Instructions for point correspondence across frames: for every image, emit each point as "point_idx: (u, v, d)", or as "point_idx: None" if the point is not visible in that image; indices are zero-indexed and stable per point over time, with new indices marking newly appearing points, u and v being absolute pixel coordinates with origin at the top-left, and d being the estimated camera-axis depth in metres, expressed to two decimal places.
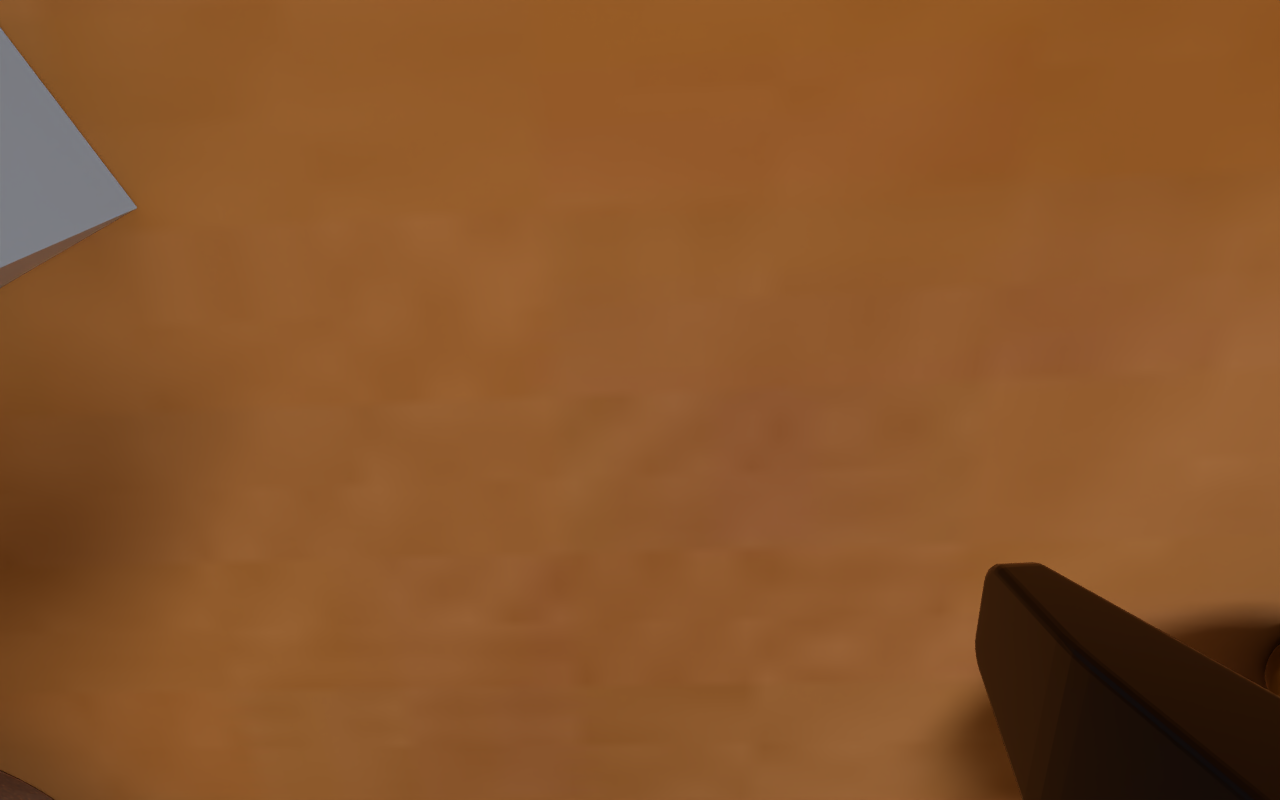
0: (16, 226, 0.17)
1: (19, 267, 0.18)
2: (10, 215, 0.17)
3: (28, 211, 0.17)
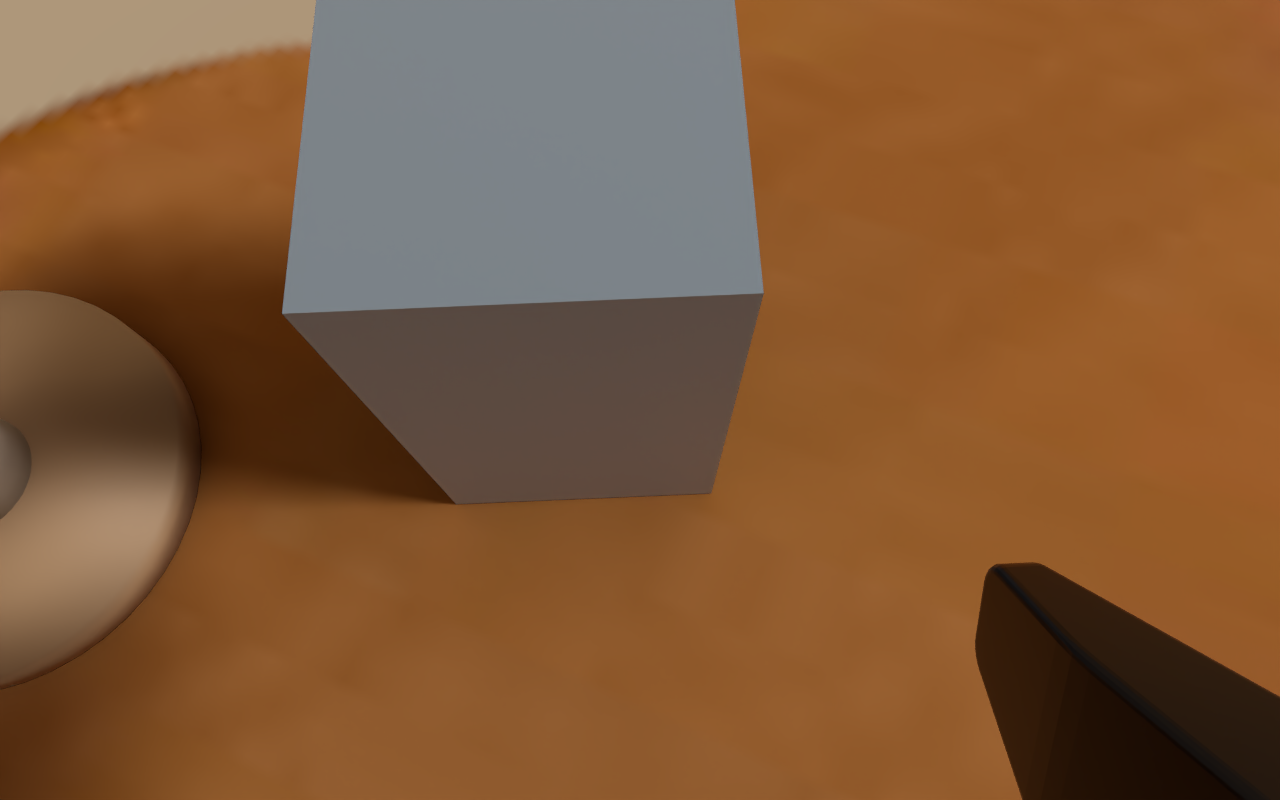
0: None
1: (652, 467, 0.19)
2: None
3: None
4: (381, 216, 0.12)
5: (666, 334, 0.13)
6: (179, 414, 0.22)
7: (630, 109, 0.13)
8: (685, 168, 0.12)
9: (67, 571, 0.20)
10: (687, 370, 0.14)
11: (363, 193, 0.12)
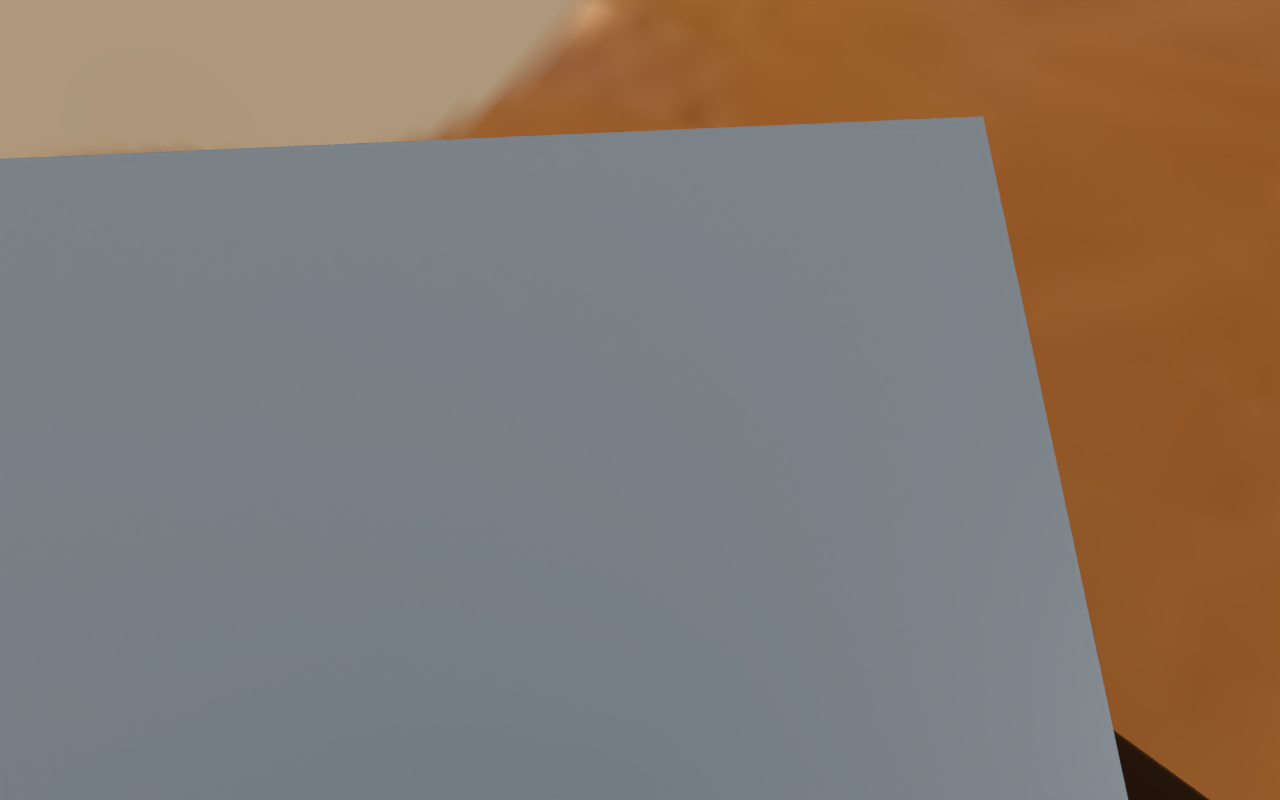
0: None
1: None
2: None
3: None
4: None
5: None
6: None
7: None
8: None
9: None
10: None
11: None
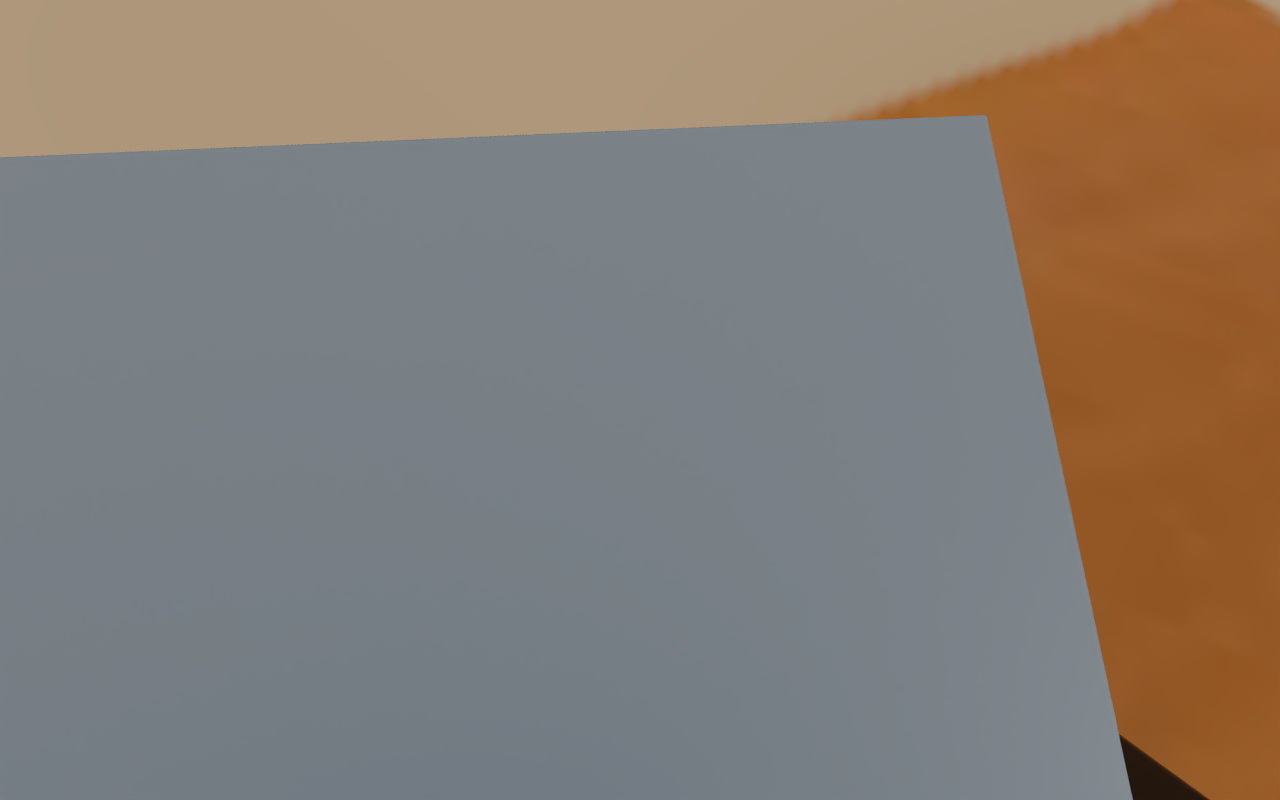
0: None
1: None
2: None
3: None
4: None
5: None
6: None
7: None
8: None
9: None
10: None
11: None
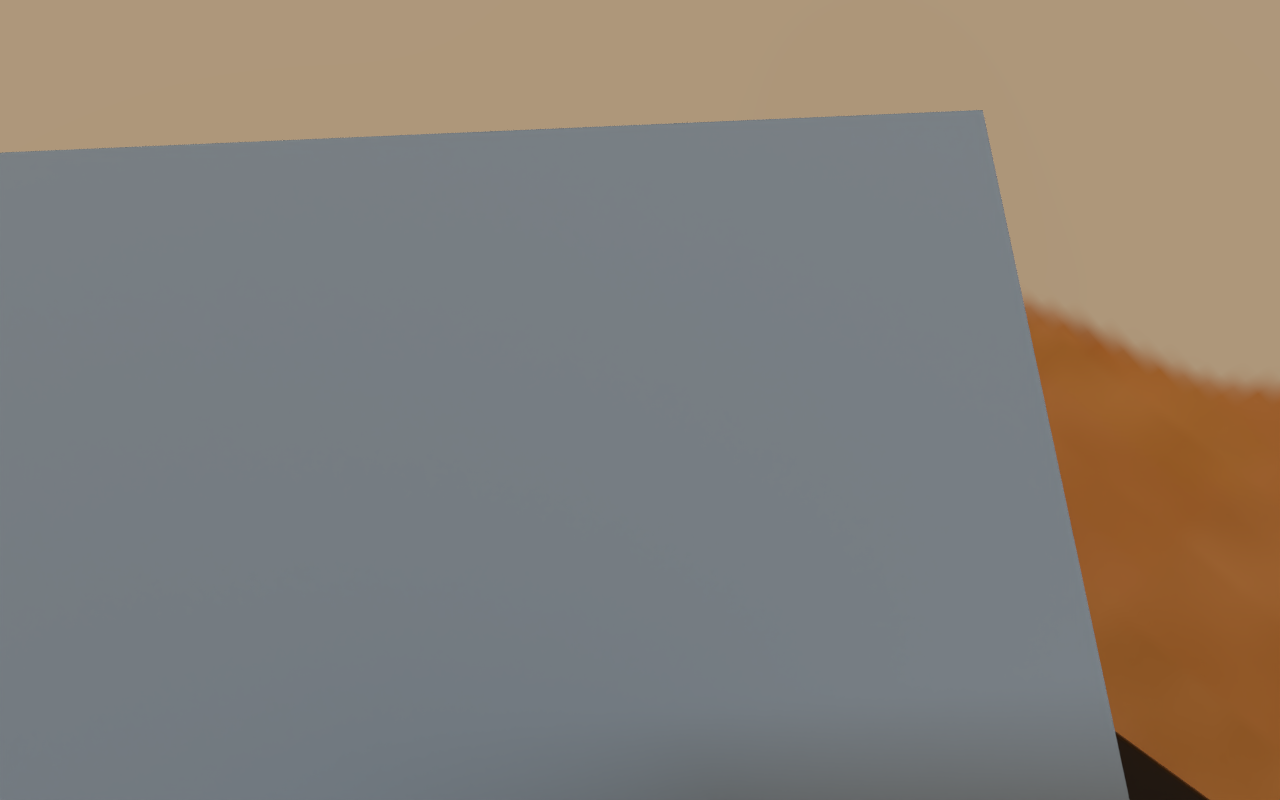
0: None
1: None
2: None
3: None
4: None
5: None
6: None
7: None
8: None
9: None
10: None
11: None
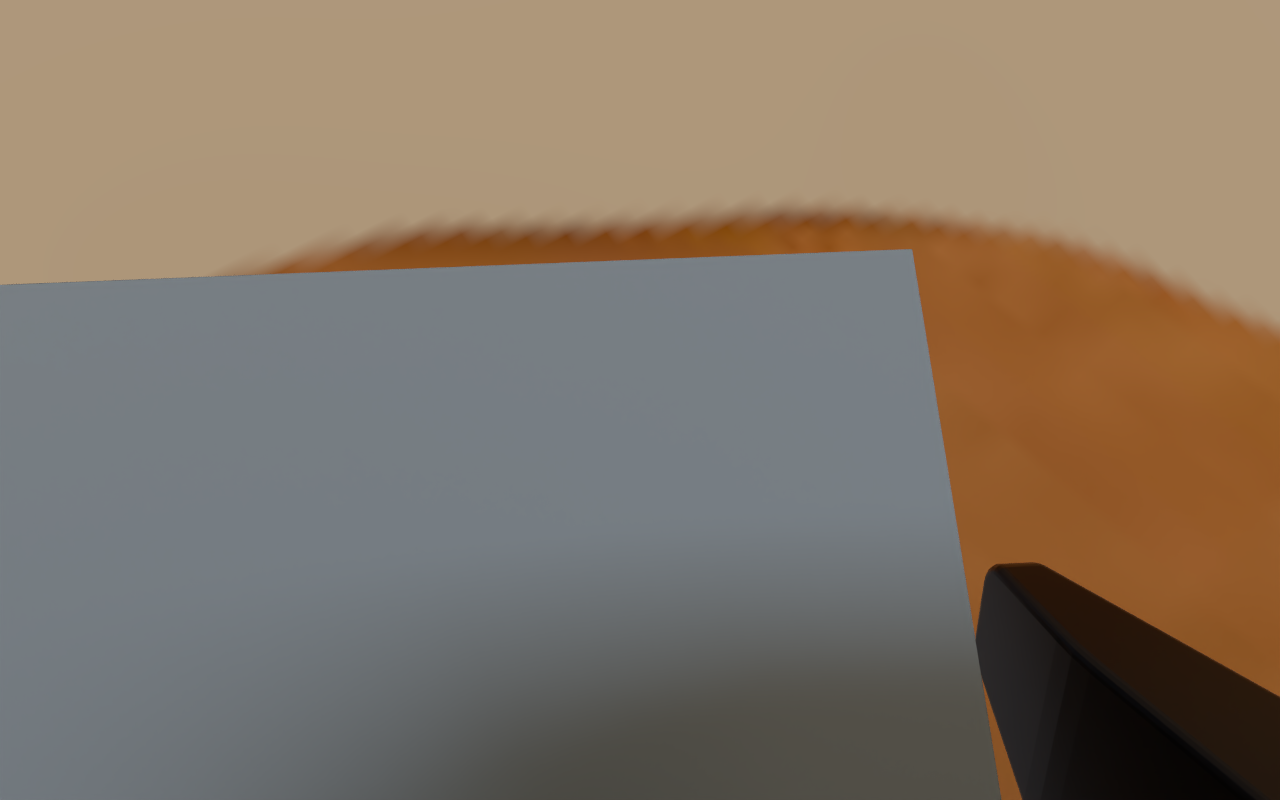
0: None
1: None
2: None
3: None
4: None
5: None
6: None
7: None
8: None
9: None
10: None
11: None
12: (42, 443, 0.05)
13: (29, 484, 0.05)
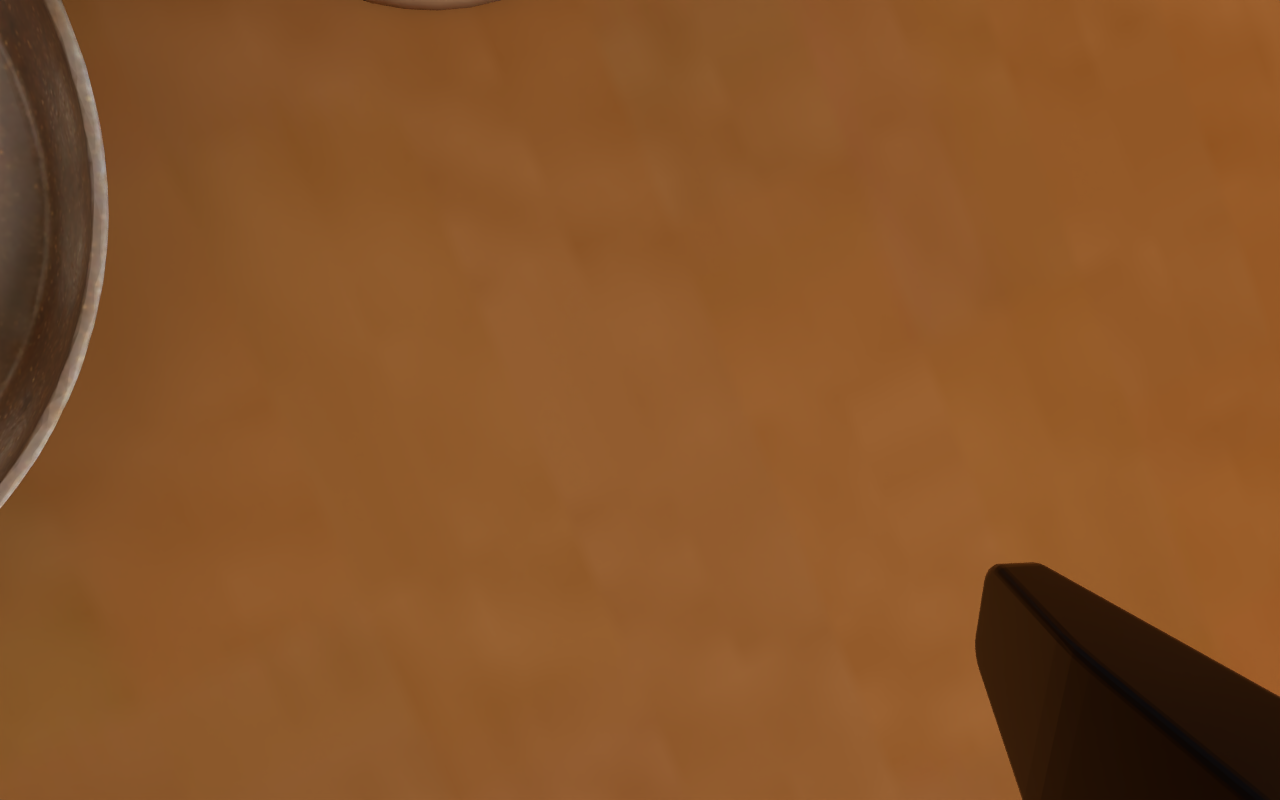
0: None
1: None
2: None
3: None
4: None
5: None
6: None
7: None
8: None
9: None
10: None
11: None
12: None
13: None
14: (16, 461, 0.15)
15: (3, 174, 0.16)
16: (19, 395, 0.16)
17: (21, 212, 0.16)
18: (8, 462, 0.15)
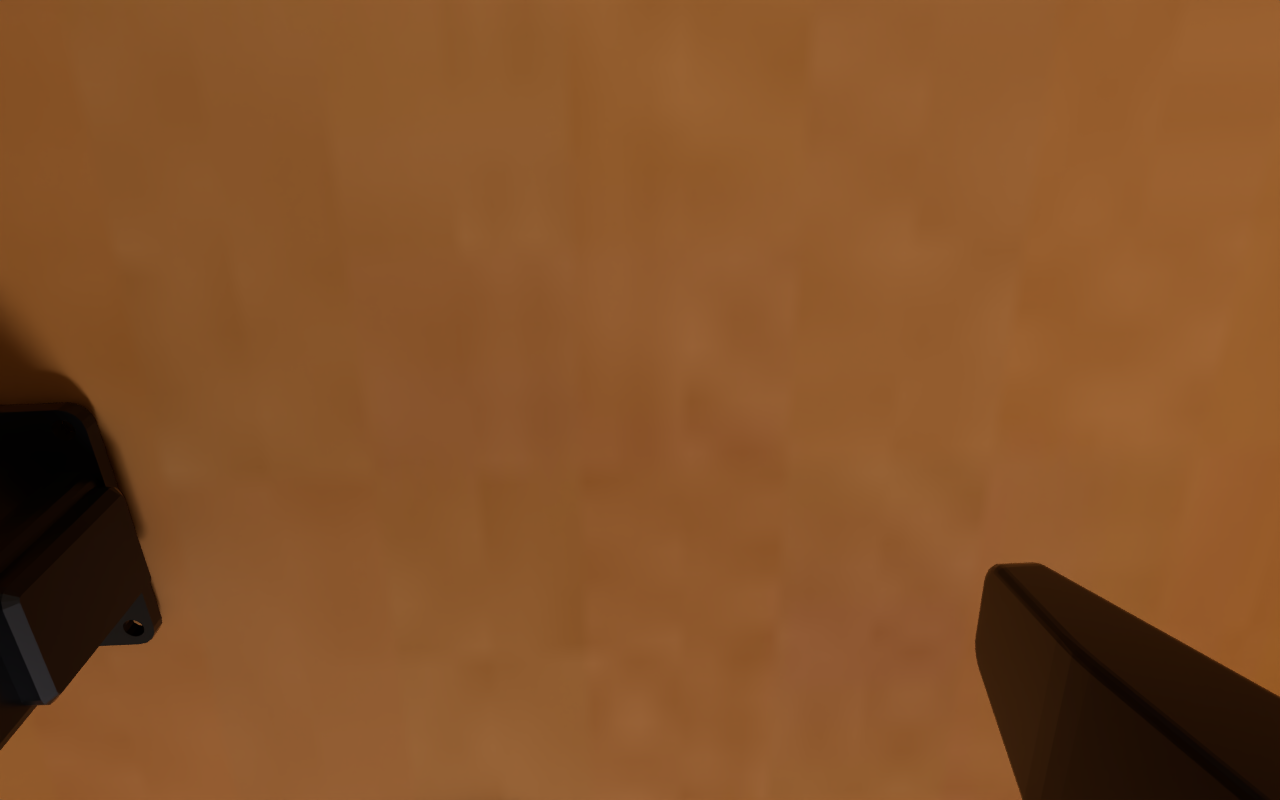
0: None
1: None
2: None
3: None
4: None
5: None
6: None
7: None
8: None
9: None
10: None
11: None
12: None
13: None
14: None
15: None
16: None
17: None
18: None
